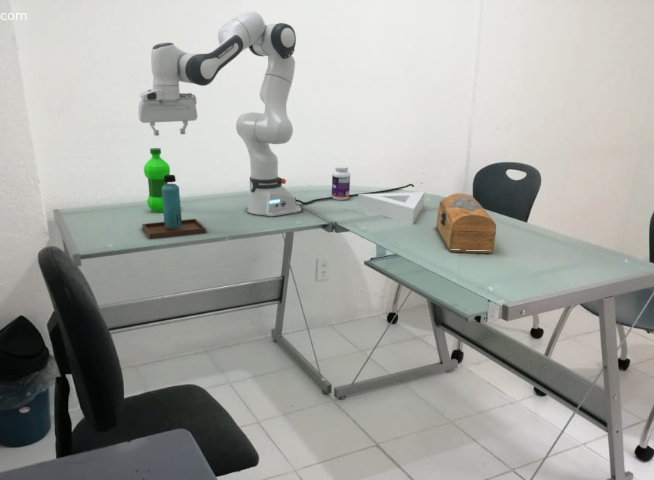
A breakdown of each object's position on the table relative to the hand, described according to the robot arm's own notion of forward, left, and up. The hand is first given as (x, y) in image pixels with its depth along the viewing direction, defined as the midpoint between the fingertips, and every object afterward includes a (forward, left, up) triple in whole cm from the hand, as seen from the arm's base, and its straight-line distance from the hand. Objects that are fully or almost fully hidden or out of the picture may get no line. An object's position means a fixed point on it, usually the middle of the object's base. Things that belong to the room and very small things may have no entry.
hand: (169, 134), depth 214 cm
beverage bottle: (+2, +5, -34) cm, 34 cm away
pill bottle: (-80, -17, -34) cm, 88 cm away
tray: (+2, +5, -34) cm, 34 cm away
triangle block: (-95, +11, -34) cm, 102 cm away
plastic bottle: (0, -25, -34) cm, 43 cm away
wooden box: (-92, +53, -34) cm, 112 cm away
